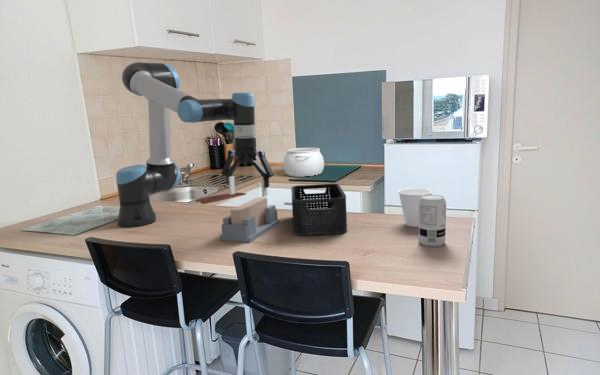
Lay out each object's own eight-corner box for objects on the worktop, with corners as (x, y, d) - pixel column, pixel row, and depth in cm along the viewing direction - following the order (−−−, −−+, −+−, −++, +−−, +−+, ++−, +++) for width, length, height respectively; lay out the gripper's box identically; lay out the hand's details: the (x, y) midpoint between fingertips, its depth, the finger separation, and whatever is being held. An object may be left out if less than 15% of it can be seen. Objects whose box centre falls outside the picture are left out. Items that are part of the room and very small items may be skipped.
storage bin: (292, 216, 177) (291, 184, 175) (339, 213, 178) (338, 182, 175) (293, 237, 149) (291, 200, 147) (348, 234, 150) (347, 197, 147)
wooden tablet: (205, 205, 207) (204, 201, 206) (194, 202, 214) (194, 199, 214) (249, 195, 224) (249, 192, 224) (238, 193, 232) (238, 190, 231)
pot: (325, 177, 264) (324, 150, 261) (282, 179, 265) (281, 152, 262) (323, 170, 292) (322, 146, 289) (285, 171, 293) (283, 148, 290)
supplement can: (414, 239, 140) (415, 195, 137) (439, 238, 141) (439, 193, 138) (423, 248, 132) (424, 201, 129) (449, 246, 133) (450, 199, 130)
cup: (409, 218, 166) (409, 186, 163) (437, 223, 157) (438, 190, 155) (392, 225, 158) (392, 192, 155) (421, 230, 149) (421, 196, 147)
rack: (220, 239, 150) (218, 219, 149) (253, 221, 172) (251, 203, 170) (250, 242, 145) (248, 221, 144) (280, 223, 167) (279, 204, 166)
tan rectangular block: (232, 234, 150) (230, 209, 148) (259, 219, 168) (257, 197, 166) (242, 235, 148) (240, 210, 147) (268, 220, 166) (266, 197, 165)
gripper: (209, 137, 153) (213, 195, 157) (271, 138, 144) (274, 199, 148) (221, 135, 160) (224, 190, 164) (281, 136, 150) (283, 194, 155)
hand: (248, 195), depth 156 cm, fingers open, 13 cm apart
